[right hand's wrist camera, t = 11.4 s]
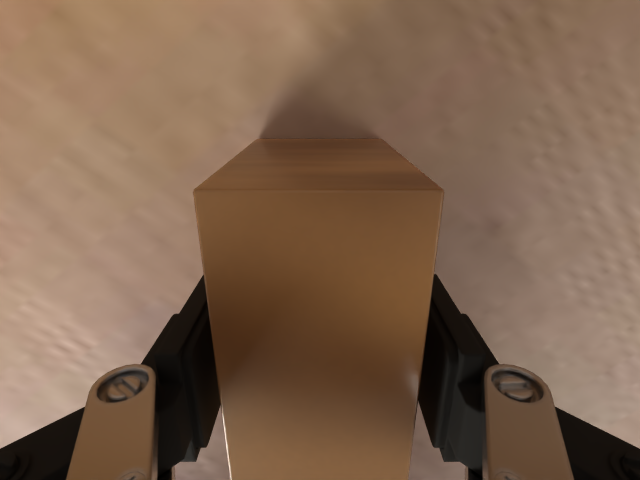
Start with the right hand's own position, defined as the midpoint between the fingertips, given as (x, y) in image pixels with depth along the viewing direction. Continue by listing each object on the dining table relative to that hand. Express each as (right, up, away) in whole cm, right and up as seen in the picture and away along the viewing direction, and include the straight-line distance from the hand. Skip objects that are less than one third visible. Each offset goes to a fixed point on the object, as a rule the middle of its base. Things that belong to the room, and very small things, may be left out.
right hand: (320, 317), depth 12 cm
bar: (0, -24, +14) cm, 28 cm away
